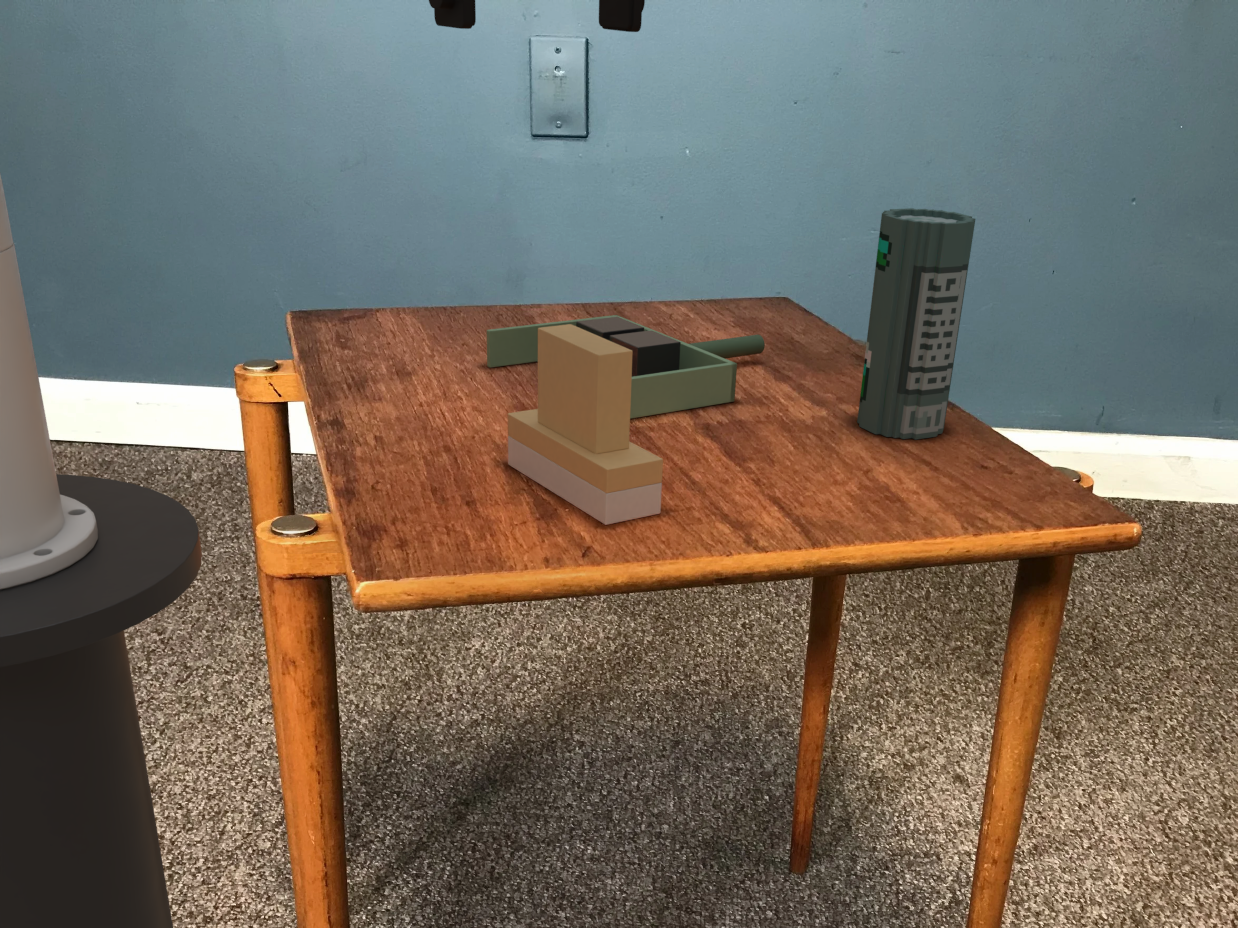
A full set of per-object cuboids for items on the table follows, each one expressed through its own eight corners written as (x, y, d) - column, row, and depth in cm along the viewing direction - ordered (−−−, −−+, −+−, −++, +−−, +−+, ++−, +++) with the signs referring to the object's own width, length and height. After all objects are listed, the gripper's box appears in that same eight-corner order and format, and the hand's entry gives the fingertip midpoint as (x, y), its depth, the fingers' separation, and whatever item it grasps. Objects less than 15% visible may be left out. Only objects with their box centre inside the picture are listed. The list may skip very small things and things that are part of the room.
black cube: (635, 399, 100) (637, 347, 98) (607, 385, 103) (609, 335, 101) (678, 392, 102) (680, 341, 100) (649, 379, 105) (651, 330, 103)
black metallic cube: (601, 382, 103) (602, 332, 102) (574, 370, 106) (575, 321, 104) (642, 376, 106) (644, 327, 104) (616, 364, 108) (617, 316, 107)
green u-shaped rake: (597, 424, 94) (598, 383, 93) (486, 366, 106) (486, 329, 105) (822, 387, 105) (826, 350, 104) (699, 338, 117) (701, 304, 116)
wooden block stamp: (605, 525, 77) (610, 367, 73) (507, 464, 86) (506, 319, 81) (660, 513, 79) (668, 359, 75) (559, 455, 88) (561, 313, 83)
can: (907, 410, 101) (934, 207, 94) (958, 433, 96) (991, 221, 89) (843, 418, 98) (866, 210, 91) (892, 442, 93) (921, 225, 86)
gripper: (652, -349, 66) (639, 27, 74) (325, -415, 57) (351, 21, 65) (743, -372, 60) (719, 36, 68) (397, -450, 51) (416, 30, 59)
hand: (540, 28), depth 67 cm, fingers open, 9 cm apart
